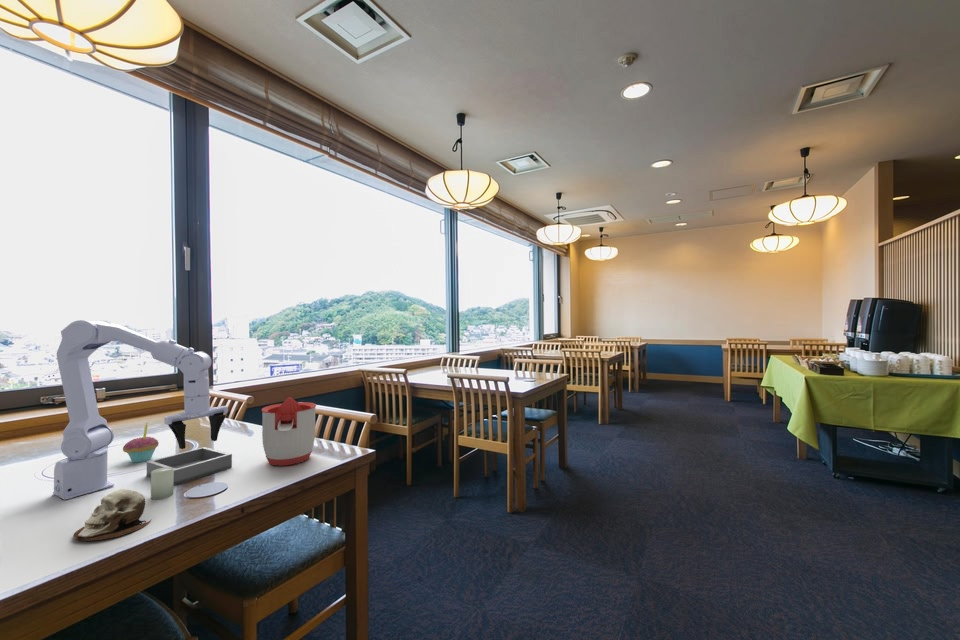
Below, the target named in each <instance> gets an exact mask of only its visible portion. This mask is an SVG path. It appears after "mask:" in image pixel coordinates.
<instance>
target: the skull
mask: <svg viewBox="0 0 960 640" xmlns="http://www.w3.org/2000/svg"><path fill="white" fill-rule="evenodd" d="M145 508H146V497H145V496H144V495H143V494H142V493H140V492H138V491H135V490H132V489H126V488H125V489H117V490H114V491H112V492H110V493H108V494H107V495H106V496H105V495H104V497H102V498H101V499H100V504H99V505H98V506H96V507H95V508H94V510H93V512H92V513H91V516H90V517H88V518H87V519H85V521H84V526H83V527H81V528H78V530H75V532H73V534H72V535H73V538H74V539H75V540H77V541H86V542H87V541H89V542H90V541H100V540H108V539H110V540H112V539H113V538H118V537H122V536H125V535H127V534H130V533H133V532H135V531H138V530H141V529H142V528H144V527H146V526H148V525H149V524H150V523H151V522H152V519H150V520H149V521H146V520H145V519H144V520H140V518H141V517H142V515H143V514H144V511H145Z"/></svg>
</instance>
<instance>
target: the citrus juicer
mask: <svg viewBox="0 0 960 640" xmlns="http://www.w3.org/2000/svg"><path fill="white" fill-rule="evenodd" d="M316 407H317V404H316V403H314V402H307V401H305V402H304V401H296V400H295V399H294V398H293V397H291V396H289V397H287V398H286V399H285V400H284V401H283V402H282V403H275V404H271V405H268V406H265V407H263V408H261V412H262V420H261V421H262V423H261V424H262V428H261V429H262V432H261V433H262V436H261V439H262V447H263V450H264V451H263V452H264V454H265V458H266V460H267V463H268V464H270V465H272V466H273V465H278V466H281V467H282V466H283V467H284V466H290V465H291V466H292V465H296V464H295V463H299V462H302V461H303V462H305V461H307V460H309V458H310V457H311V454H312V452H313V447H314V443H315V439H316ZM306 459H307V460H306ZM304 460H305V461H304ZM303 462H302V463H303ZM299 464H300V463H299Z"/></svg>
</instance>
